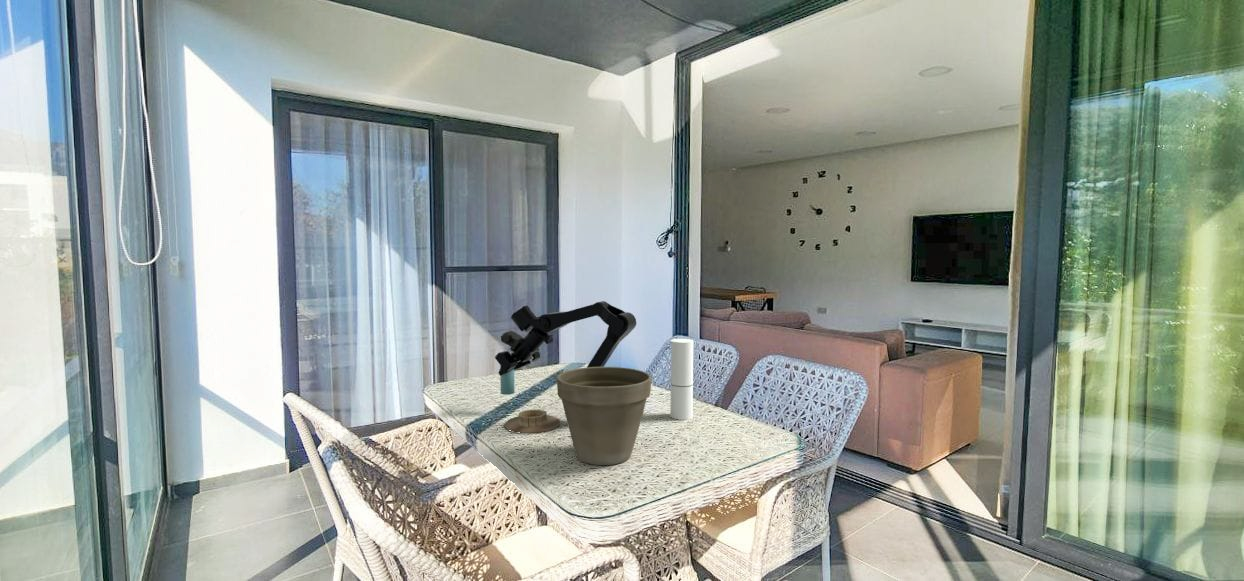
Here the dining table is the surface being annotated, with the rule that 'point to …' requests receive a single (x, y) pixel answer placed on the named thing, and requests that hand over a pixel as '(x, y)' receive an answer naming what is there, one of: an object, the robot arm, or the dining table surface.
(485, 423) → the dining table surface
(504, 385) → the teal peg
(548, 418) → the walnut stand
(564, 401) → the plant pot
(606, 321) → the robot arm
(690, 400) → the cylindrical container
